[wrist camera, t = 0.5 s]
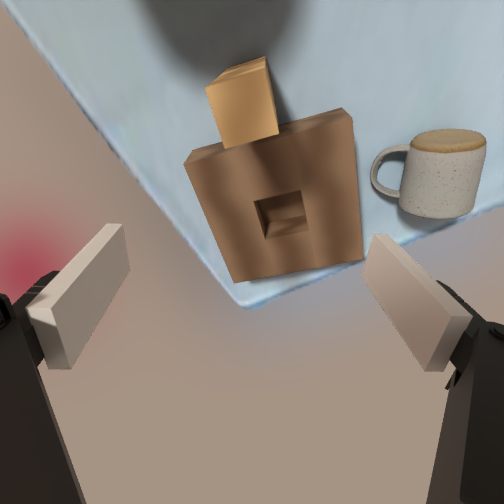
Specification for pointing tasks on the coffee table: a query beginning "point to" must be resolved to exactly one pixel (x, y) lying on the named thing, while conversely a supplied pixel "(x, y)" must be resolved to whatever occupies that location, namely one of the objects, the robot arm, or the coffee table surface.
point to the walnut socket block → (283, 198)
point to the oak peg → (244, 103)
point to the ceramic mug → (438, 173)
